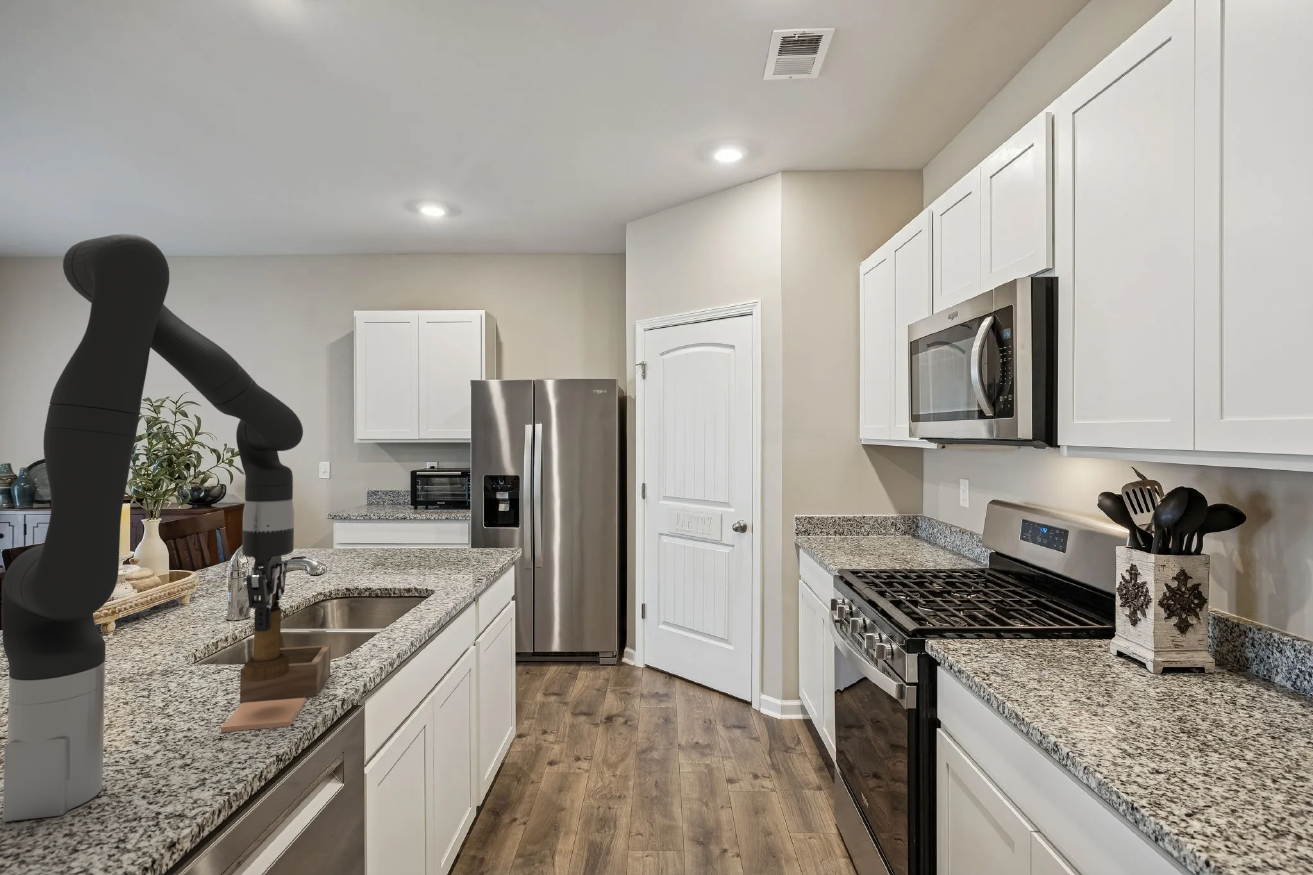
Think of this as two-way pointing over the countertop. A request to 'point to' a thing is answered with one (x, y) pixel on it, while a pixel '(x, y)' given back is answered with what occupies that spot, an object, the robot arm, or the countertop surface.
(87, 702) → the robot arm
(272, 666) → the mortar and pestle
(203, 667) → the countertop surface
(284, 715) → the terracotta tile
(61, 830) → the countertop surface
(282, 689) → the open wooden box
